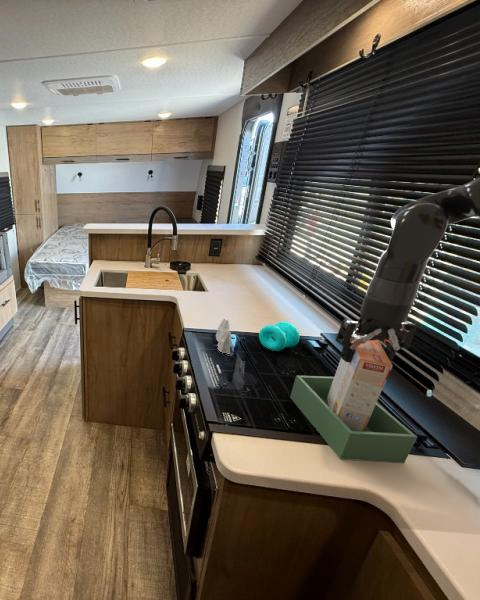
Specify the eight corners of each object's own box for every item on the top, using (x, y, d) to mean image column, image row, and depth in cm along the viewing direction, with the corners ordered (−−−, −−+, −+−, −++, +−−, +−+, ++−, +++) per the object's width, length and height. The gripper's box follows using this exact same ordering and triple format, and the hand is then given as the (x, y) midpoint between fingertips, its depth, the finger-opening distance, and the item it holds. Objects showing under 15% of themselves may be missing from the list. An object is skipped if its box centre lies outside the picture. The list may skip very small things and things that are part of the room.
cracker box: (362, 440, 72) (394, 365, 64) (330, 430, 75) (357, 357, 67) (353, 405, 83) (380, 337, 75) (325, 398, 86) (348, 332, 78)
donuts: (297, 351, 114) (304, 327, 111) (279, 357, 111) (285, 332, 107) (273, 339, 123) (278, 316, 119) (255, 344, 119) (260, 321, 116)
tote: (339, 399, 89) (347, 377, 87) (404, 463, 69) (417, 437, 67) (289, 397, 91) (296, 375, 88) (340, 459, 71) (350, 433, 68)
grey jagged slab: (214, 338, 124) (218, 314, 120) (225, 340, 123) (230, 315, 118) (217, 354, 113) (222, 327, 109) (230, 355, 112) (235, 328, 108)
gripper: (366, 303, 64) (343, 369, 70) (442, 304, 63) (412, 371, 69) (341, 291, 71) (322, 352, 77) (409, 292, 69) (384, 353, 75)
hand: (364, 361), depth 73 cm, fingers closed on cracker box, 8 cm apart
